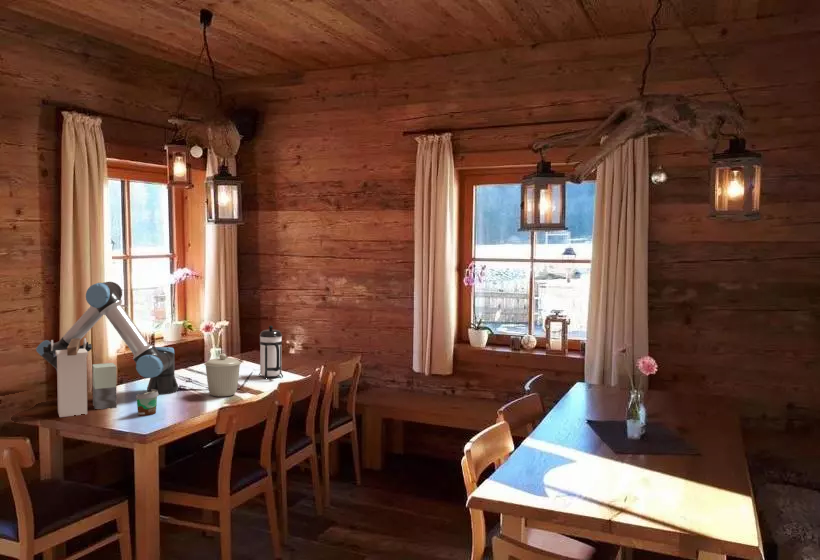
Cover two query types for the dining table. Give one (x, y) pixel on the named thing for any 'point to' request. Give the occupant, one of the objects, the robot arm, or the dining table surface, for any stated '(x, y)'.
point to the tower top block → (104, 375)
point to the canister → (222, 375)
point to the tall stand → (72, 383)
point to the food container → (147, 403)
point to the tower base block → (104, 398)
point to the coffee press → (270, 353)
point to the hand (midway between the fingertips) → (69, 341)
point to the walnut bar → (73, 347)
